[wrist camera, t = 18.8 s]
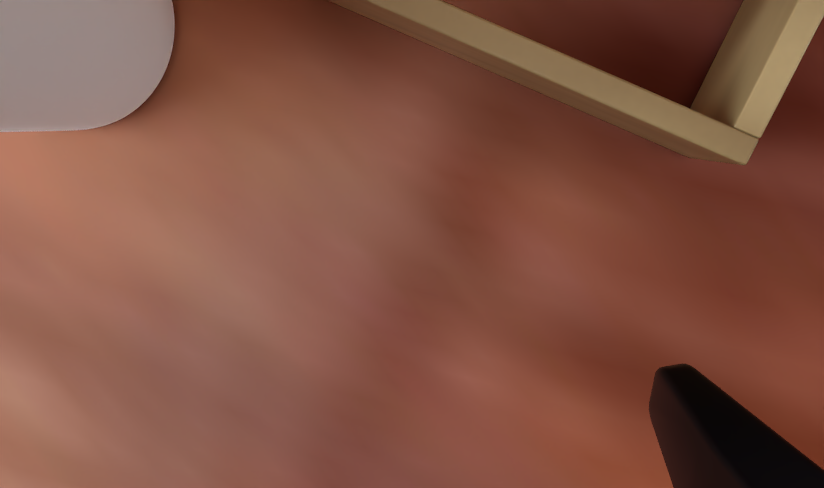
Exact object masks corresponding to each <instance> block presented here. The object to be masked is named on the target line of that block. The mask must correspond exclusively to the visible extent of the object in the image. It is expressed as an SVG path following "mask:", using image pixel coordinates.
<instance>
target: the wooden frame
mask: <svg viewBox="0 0 824 488" xmlns="http://www.w3.org/2000/svg"><path fill="white" fill-rule="evenodd" d="M328 1H330V2H332V3H335V4H337V5H339V6H342V7H344V8H346V9H348V10H351V11H353V12H355V13H358V14H360V15H362V16H365V17H367V18H369V19H371V20H374V21H376V22H378V23H381V24H383V25H385V26H388V27H390V28H392V29H394V30H397V31H399V32H401V33H404V34H406V35H408V36H411V37H413V38H415V39H417V40H420V41H422V42H424V43H427V44H429V45H431V46H433V47H436V48H438V49H440V50H443V51H445V52H447V53H450V54H452V55H454V56H456V57H459V58H461V59H463V60H466V61H468V62H470V63H473V64H475V65H477V66H479V67H482V68H484V69H486V70H489V71H491V72H493V73H496V74H498V75H500V76H502V77H505V78H507V79H509V80H512V81H514V82H516V83H519V84H521V85H523V86H525V87H528V88H530V89H532V90H535V91H537V92H539V93H541V94H544V95H546V96H548V97H551V98H553V99H555V100H558V101H560V102H562V103H564V104H567V105H569V106H571V107H574V108H576V109H578V110H581V111H583V112H585V113H587V114H590V115H592V116H594V117H597V118H599V119H601V120H604V121H606V122H608V123H610V124H613V125H615V126H617V127H620V128H622V129H624V130H626V131H629V132H631V133H633V134H636V135H638V136H640V137H643V138H645V139H647V140H649V141H652V142H654V143H656V144H659V145H661V146H663V147H666V148H668V149H670V150H672V151H675V152H677V153H679V154H682V155H684V156H686V157H689V158H694V159H701V160H709V161H716V162H724V163H731V164H739V165H746V164H747V162H748V160H749V159H750V157H751V155H752V153H753V151H754V149H755V147H756V145H757V143H758V138H760V137H761V136H762V134H763V132H764V130H765V128H766V126H767V125H768V123H769V121H770V119H771V117H772V115H773V113H774V111H775V109H776V107H777V105H778V103H779V101H780V99H781V98H782V96H783V94H784V92H785V90H786V88H787V86H788V84H789V82H790V80H791V78H792V76H793V74H794V72H795V70H796V69H797V67H798V65H799V63H800V61H801V59H802V57H803V55H804V53H805V51H806V49H807V47H808V45H809V43H810V42H811V40H812V38H813V36H814V34H815V32H816V30H817V28H818V26H819V24H820V22H821V20H822V18H823V16H824V0H743V2H742V4H741V6H740V8H739V10H738V12H737V14H736V16H735V18H734V21H733V23H732V25H731V27H730V29H729V31H728V33H727V35H726V37H725V39H724V41H723V43H722V45H721V47H720V49H719V51H718V53H717V55H716V57H715V59H714V61H713V63H712V65H711V67H710V69H709V71H708V73H707V75H706V77H705V79H704V81H703V83H702V85H701V87H700V89H699V91H698V93H697V95H696V97H695V99H694V101H693V103H692V105H691V107H690V108H687V107H685V106H683V105H681V104H678V103H676V102H674V101H671V100H669V99H667V98H665V97H662V96H660V95H658V94H655V93H653V92H651V91H648V90H646V89H644V88H642V87H639V86H637V85H635V84H632V83H630V82H628V81H626V80H623V79H621V78H619V77H616V76H614V75H612V74H609V73H607V72H605V71H603V70H600V69H598V68H596V67H593V66H591V65H589V64H586V63H584V62H582V61H580V60H577V59H575V58H573V57H570V56H568V55H566V54H564V53H561V52H559V51H557V50H554V49H552V48H550V47H547V46H545V45H543V44H541V43H538V42H536V41H534V40H531V39H529V38H527V37H525V36H522V35H520V34H518V33H515V32H513V31H511V30H508V29H506V28H504V27H502V26H499V25H497V24H495V23H492V22H490V21H488V20H486V19H483V18H481V17H479V16H476V15H474V14H472V13H469V12H467V11H465V10H463V9H460V8H458V7H456V6H453V5H451V4H449V3H447V2H444V1H442V0H328Z"/></svg>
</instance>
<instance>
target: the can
mask: <svg viewBox="0 0 824 488" xmlns="http://www.w3.org/2000/svg"><path fill="white" fill-rule="evenodd" d="M174 31H175V20H174V9H173V3H172V0H0V132H24V131H70V130H85V129H92V128H98V127H102V126H105V125H108V124H111V123H114V122H116V121H118V120H120V119H122V118H124V117H126V116H127V115H129V114H130V113H132V112H133V111H135V110H136V109H137V108H138V107H139V106H141V105H142V104H143V103H144V102H145V101H146V100H147V99H148V98H149V96H150V95H151V94H152V93H153V91H154V90H155V89H156V87H157V86H158V84H159V82H160V81H161V79H162V77H163V75H164V73H165V71H166V68H167V66H168V63H169V60H170V56H171V53H172V48H173V42H174Z"/></svg>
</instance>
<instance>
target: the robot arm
mask: <svg viewBox="0 0 824 488" xmlns="http://www.w3.org/2000/svg"><path fill="white" fill-rule="evenodd" d="M649 412H650V418H651V421H652V424H653V427H654V430H655V433H656V436H657V439H658V442H659V445H660V448H661V451H662V454H663V457H664V460H665V463H666V466H667V469H668V472H669V475H670V478H671V481H672V484H673V487H674V488H824V470H823V469H821V468H820V467H819V466H818V465H816V464H815V463H814V462H813V461H811V460H810V459H809V458H808V457H806V456H805V455H804V454H802V453H801V452H800V451H799V450H797V449H796V448H795V447H794V446H792V445H791V444H790V443H789V442H787V441H786V440H785V439H783V438H782V437H781V436H780V435H778V434H777V433H776V432H775V431H773V430H772V429H771V428H770V427H768V426H767V425H766V424H764V423H763V422H762V421H761V420H759V419H758V418H757V417H756V416H754V415H753V414H752V413H751V412H749V411H748V410H747V409H745V408H744V407H743V406H742V405H740V404H739V403H738V402H737V401H735V400H734V399H733V398H732V397H730V396H729V395H728V394H726V393H725V392H724V391H723V390H721V389H720V388H719V387H718V386H716V385H715V384H714V383H713V382H711V381H710V380H709V379H707V378H706V377H705V376H704V375H702V374H701V373H700V372H699V371H697V370H696V369H695V368H693V367H692V366H690V365H687V364H677V365H671V366H665V367H660V368H659V369H658V370H657V371H656V373H655V377H654V382H653V387H652V392H651V397H650V402H649Z"/></svg>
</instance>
